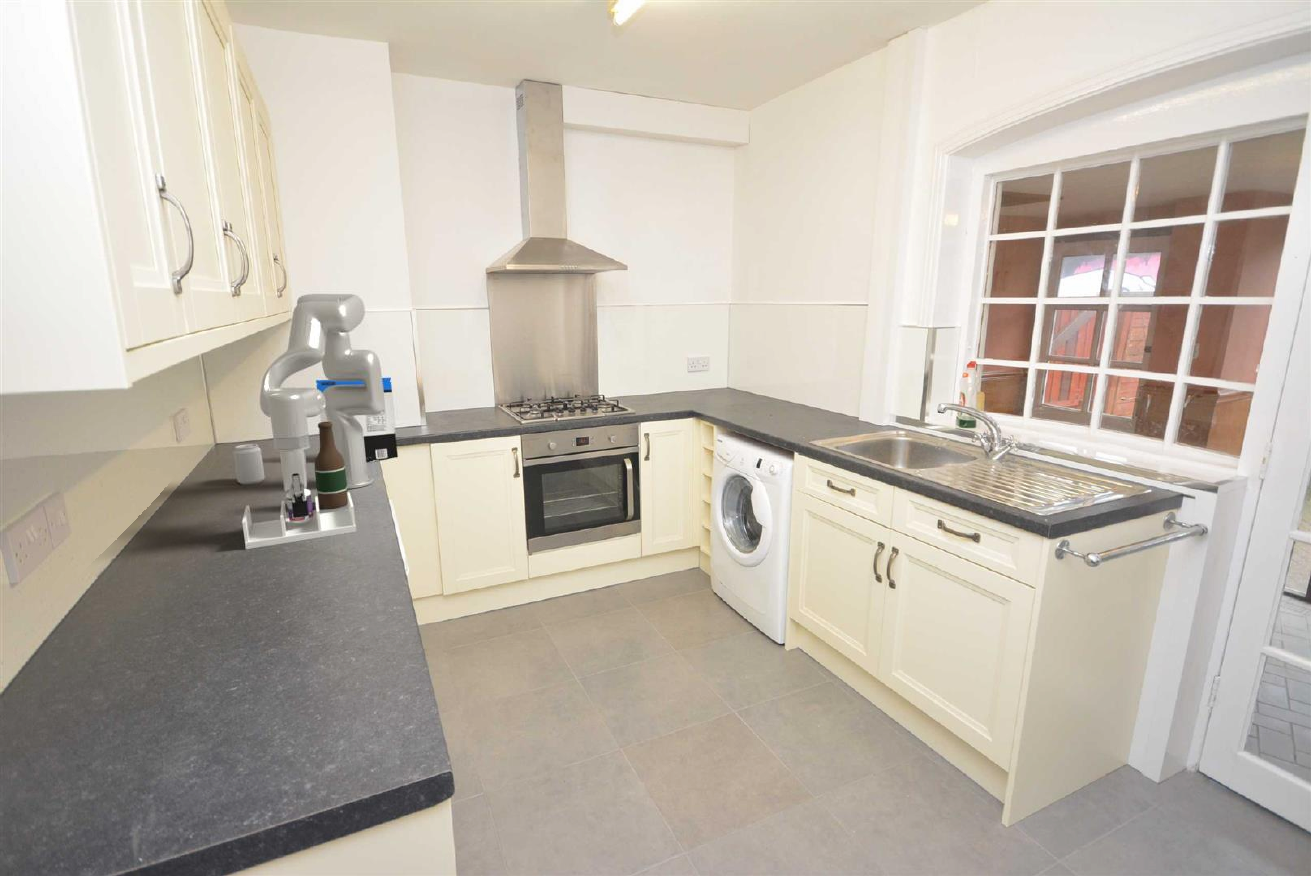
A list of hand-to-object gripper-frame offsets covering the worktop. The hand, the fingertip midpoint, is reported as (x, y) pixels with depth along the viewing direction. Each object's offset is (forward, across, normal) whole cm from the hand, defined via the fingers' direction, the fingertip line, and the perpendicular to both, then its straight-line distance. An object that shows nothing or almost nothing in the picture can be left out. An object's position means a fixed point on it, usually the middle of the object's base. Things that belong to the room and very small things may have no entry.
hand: (300, 512), depth 156 cm
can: (+5, -59, -14) cm, 61 cm away
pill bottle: (+2, 0, 0) cm, 2 cm away
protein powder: (+5, -73, +20) cm, 75 cm away
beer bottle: (+5, -19, +8) cm, 21 cm away
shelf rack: (+5, 0, 0) cm, 5 cm away
